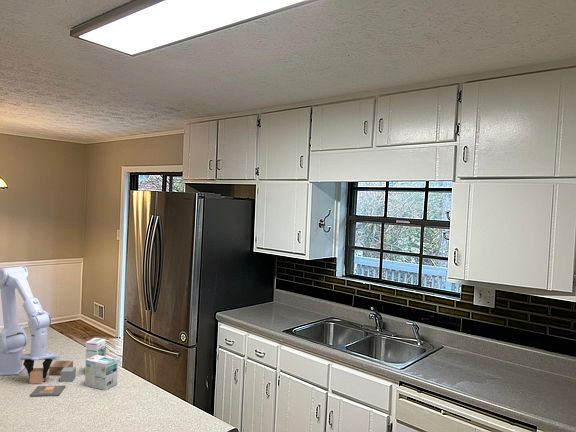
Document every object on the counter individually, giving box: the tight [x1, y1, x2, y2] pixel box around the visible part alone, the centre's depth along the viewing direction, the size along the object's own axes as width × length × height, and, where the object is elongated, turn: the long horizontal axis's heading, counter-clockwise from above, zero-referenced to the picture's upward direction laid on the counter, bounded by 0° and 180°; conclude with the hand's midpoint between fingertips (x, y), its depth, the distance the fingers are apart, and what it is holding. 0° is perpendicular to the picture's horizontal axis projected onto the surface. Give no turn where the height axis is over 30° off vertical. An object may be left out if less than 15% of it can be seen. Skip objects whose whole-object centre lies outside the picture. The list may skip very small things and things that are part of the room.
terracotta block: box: [29, 367, 47, 385], centre depth 177 cm, size 4×4×4 cm
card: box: [29, 385, 66, 398], centre depth 169 cm, size 10×8×1 cm
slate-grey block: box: [59, 366, 77, 383], centre depth 180 cm, size 4×4×4 cm
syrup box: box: [85, 337, 107, 369], centre depth 188 cm, size 6×6×14 cm
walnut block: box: [48, 360, 74, 377], centre depth 187 cm, size 7×7×4 cm
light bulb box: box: [84, 355, 119, 391], centre depth 177 cm, size 11×7×11 cm, turn 71°
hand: (37, 377), depth 177 cm, fingers closed on terracotta block, 4 cm apart
